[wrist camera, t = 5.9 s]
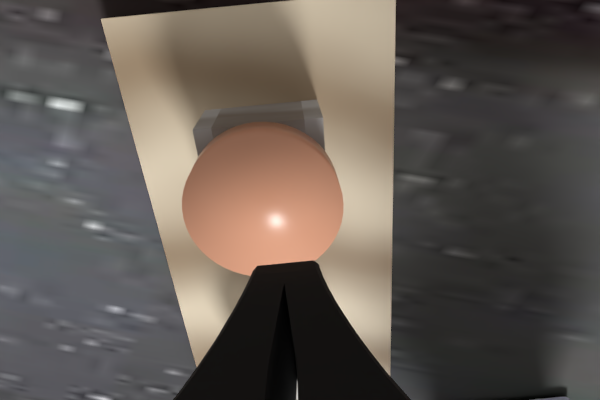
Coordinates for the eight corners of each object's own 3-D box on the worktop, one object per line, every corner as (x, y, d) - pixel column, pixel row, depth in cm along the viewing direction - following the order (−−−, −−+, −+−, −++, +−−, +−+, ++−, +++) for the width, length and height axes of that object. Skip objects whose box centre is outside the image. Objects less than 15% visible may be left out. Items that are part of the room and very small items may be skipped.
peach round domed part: (333, 213, 17) (346, 269, 14) (215, 224, 17) (198, 283, 14) (326, 94, 15) (339, 125, 11) (191, 107, 15) (165, 142, 11)
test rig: (385, 392, 24) (401, 451, 21) (214, 408, 24) (205, 469, 21) (389, -10, 15) (417, -10, 12) (111, 17, 15) (66, 24, 12)
